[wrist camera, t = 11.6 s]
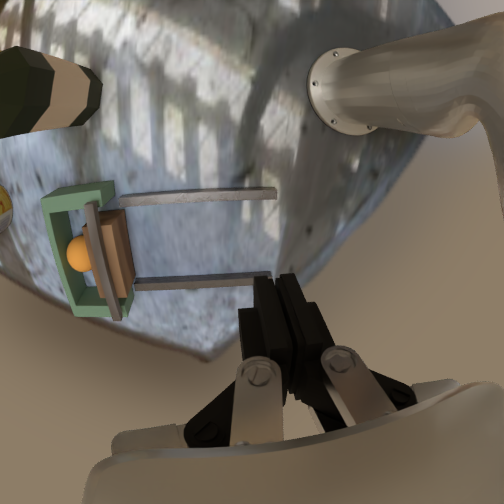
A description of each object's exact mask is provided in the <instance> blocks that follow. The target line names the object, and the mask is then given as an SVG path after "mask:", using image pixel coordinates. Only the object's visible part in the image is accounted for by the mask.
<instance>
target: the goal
mask: <svg viewBox="0 0 504 504" xmlns="http://www.w3.org/2000/svg"><path fill="white" fill-rule="evenodd" d="M114 196H115V189H114V180H112V181H104V182H96V183H89V184H82V185H76V186H69V187H63V188H58V189H56V190H54V191H53V192H51V193H49V194H48V195H46V196H44V197H43V198H41V205H42V210H43V215H44V219H45V224H46V228H47V232H48V236H49V240H50V244H51V248H52V252H53V255H54V259H55V262H56V265H57V268H58V272H59V275H60V278H61V281H62V284H63V287H64V289H65V292H66V295H67V298H68V300H69V303H70V306H71V308H72V311H73V313H74V316H78V317H112V316H111V313H110V310H109V307H108V304H107V301H106V298H100V295H99V292H98V289H97V287H86V284H85V280H84V277H83V274H82V272H80V271H77V270H75V269H74V268H72V267H71V265H70V264H69V262H68V260H67V248H68V245H69V243H70V242H71V241H72V240H73V235H72V231H71V226H70V221H69V216H68V211H69V210H77V209H84V204H86V203H87V202H90V201H97V207H103V206H104V205H105V204H106V203H107V202H108V201H109V200H110V199H111V198H112V197H114ZM133 299H134V294H133V290H132V286H131V289H130V291H129V294H128V297H127V298H118V301H119V304H120V308H121V311H122V314H123V317H128V314H129V311H130V308H131V305H132V302H133Z"/></svg>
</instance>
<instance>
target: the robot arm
mask: <svg viewBox="0 0 504 504" xmlns="http://www.w3.org/2000/svg"><path fill="white" fill-rule="evenodd" d="M333 54H334V56H333ZM312 83H314V84H315V85H314V86H313V85H312ZM307 90H308V96H309V99H310V102H311V105H312V107H313V109H314V111H315V112H316V114H317V115H318V116H319V118H320V119H321V120H322V121H323V122H324V123H325V124H326V125H328V126H329V127H331V128H332V129H334V130H336V131H338V132H340V133H344V134H348V135H364V134H367V133H370V132H372V131H374V130H376V129H377V128H378V127H382V128H389V129H396V130H402V131H408V132H414V133H419V134H424V135H430V136H435V137H440V138H454V137H458V136H461V135H463V134H465V133H466V132H468V131H469V130H470V129H472V128H473V127H474V125H476V124H477V122H478V121H480V122H481V123H482V125H483V126H484V129H485V131H486V134H487V137H488V140H489V144H490V148H491V151H492V154H493V159H494V164H495V169H496V175H497V181H498V188H499V195H500V203H501V209H502V215H503V219H504V12H498V13H494V14H491V15H488V16H484V17H481V18H478V19H475V20H472V21H469V22H466V23H463V24H460V25H456V26H453V27H450V28H446V29H442V30H438V31H434V32H430V33H426V34H421V35H417V36H413V37H408V38H405V39H400V40H397V41H393V42H389V43H386V44H382V45H379V46H376V47H373V48H369V49H366V50H363V51H358V50H356V49H352V48H336V49H332V50H329V51H327V52H325V53H324V54H322V55H321V56H319V57H318V58H317V59H316V61H315V62H314V63H313V65H312V67H311V68H310V71H309V74H308V80H307ZM331 120H333V122H332V123H331ZM253 291H254V308H242V309H238V318H239V332H240V342H241V350H242V358H243V362H242V363H241V364H240V365H239V367H238V369H237V372H236V380H235V381H234V382H233V383H232V384H230V385H229V386H228V387H227V388H226V389H225V390H224V391H223V392H222V393H221V394H219V395H218V396H217V397H216V398H215V399H214V400H213V401H212V402H210V403H209V404H208V405H207V406H206V407H205V408H203V410H201V411H200V412H199V413H198V414H196V415H195V416H194V417H193V418H192V419H190V421H189V422H188V423H187V424H182V425H177V426H176V424H170V425H164V426H158V427H152V428H145V429H137V430H129V431H123V432H120V433H118V434H117V435H116V436H115V437H114V439H113V440H112V445H111V450H112V456H110V457H108V458H105V459H103V460H101V461H100V462H98V463H97V464H96V465H95V466H94V467H93V468H92V469H91V471H90V473H89V475H88V478H87V481H86V484H85V488H84V492H83V498H82V504H504V389H503V388H502V387H501V386H500V385H499V384H497V383H494V382H487V381H482V382H472V383H467V384H464V385H460V384H459V383H458V382H457V381H455V380H453V379H444V380H438V381H432V382H424V383H416V384H412V386H410V387H409V386H408V385H406V384H404V383H401V382H399V381H397V380H394V379H392V378H389V377H386V376H384V375H382V374H379V373H377V372H375V371H372V370H370V369H368V367H367V366H366V365H365V363H364V362H363V361H362V359H361V358H360V356H359V355H358V354H357V353H356V352H355V351H354V350H353V349H351V348H349V347H346V346H338V345H337V346H336V345H335V343H334V341H333V339H332V337H331V335H330V332H329V330H328V328H327V326H326V323H325V321H324V319H323V317H322V315H321V312H320V310H319V308H318V306H317V304H316V303H315V302H306V299H305V298H304V295H303V292H302V290H301V288H300V285H299V283H298V281H297V279H296V276H295V274H294V273H289V274H281V275H280V278H276V280H275V285H274V282H273V279H272V278H269V279H268V276H267V275H263V276H254V278H253ZM287 391H289V394H293V393H294V396H295V400H301V401H302V402H303V403H305V404H307V405H308V409H309V412H310V414H311V416H312V418H313V420H314V423H315V425H316V427H317V429H318V431H319V433H320V434H318V435H313V436H308V437H303V438H297V439H292V440H285V441H284V434H283V406H284V405H285V402H286V396H287Z"/></svg>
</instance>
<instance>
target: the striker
mask: <svg viewBox="0 0 504 504" xmlns="http://www.w3.org/2000/svg"><path fill="white" fill-rule="evenodd" d="M84 211H85V216H86V222H87V223H86V224H85V225H84V226H83V227H82V230H83V235H84V239H85V244H86V248H87V252H88V256H89V260H90V264H91V268H92V271H93V275H94V279H95V282H96V285H97V289H98V292H99V295H100V298H106V301H107V304H108V307H109V310H110V313H111V316H112V319H113V321H121V320H122V317H123V314H122V311H121V308H120V304H119V301H118V298H127V297H128V294H129V291H130V289H131V286H132V283H133V281H134V278H135V270H134V265H133V260H132V255H131V249H130V244H129V238H128V232H127V225H126V219H125V212H124V209H123V210H112V211H102V212H98V207H97V201H90V202H87V203H86V204H84Z"/></svg>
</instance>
